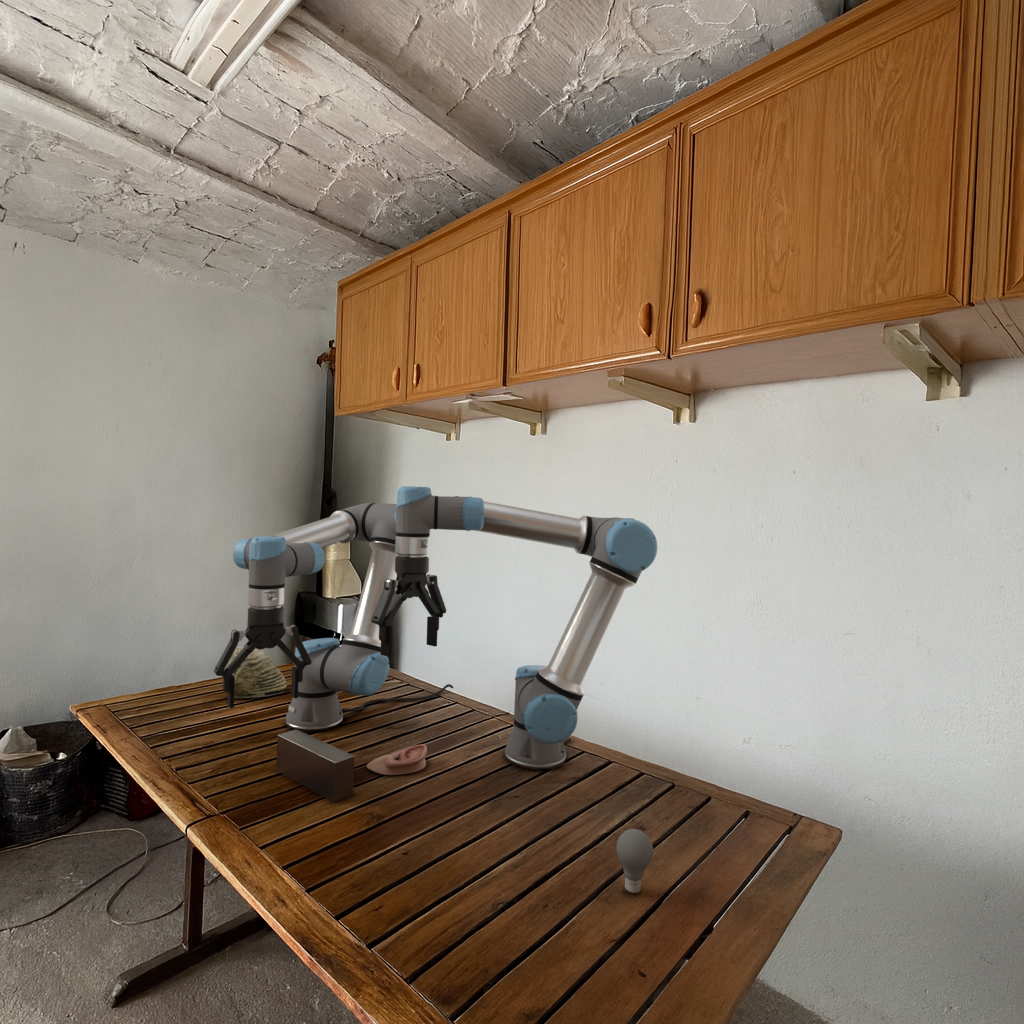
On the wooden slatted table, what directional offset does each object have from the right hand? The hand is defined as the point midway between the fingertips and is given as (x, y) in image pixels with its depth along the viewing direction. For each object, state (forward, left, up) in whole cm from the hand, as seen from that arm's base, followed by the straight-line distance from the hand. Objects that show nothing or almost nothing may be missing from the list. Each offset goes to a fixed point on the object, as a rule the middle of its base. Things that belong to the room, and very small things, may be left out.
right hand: (409, 650), depth 142 cm
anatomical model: (-1, -9, -30) cm, 31 cm away
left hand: (+29, -14, -13) cm, 34 cm away
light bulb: (-23, +53, -30) cm, 65 cm away
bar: (+19, -8, -30) cm, 36 cm away
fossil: (+25, -76, -30) cm, 85 cm away
